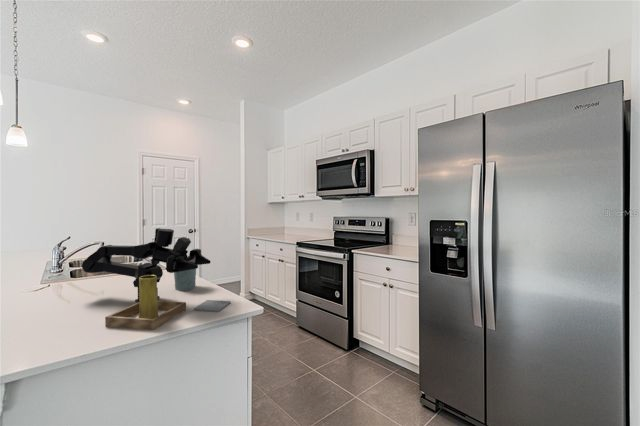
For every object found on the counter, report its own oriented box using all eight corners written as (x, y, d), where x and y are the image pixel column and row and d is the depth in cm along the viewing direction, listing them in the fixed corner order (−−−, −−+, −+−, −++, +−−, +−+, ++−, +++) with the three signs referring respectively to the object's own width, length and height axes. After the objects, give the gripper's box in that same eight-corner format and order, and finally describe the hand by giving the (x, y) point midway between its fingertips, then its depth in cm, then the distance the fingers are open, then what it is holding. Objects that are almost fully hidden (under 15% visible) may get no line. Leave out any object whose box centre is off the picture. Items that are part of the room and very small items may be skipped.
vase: (149, 322, 98) (148, 279, 98) (133, 320, 100) (133, 278, 99) (162, 315, 104) (162, 275, 104) (147, 313, 106) (147, 274, 105)
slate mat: (193, 310, 109) (193, 308, 109) (207, 301, 119) (207, 299, 119) (218, 311, 108) (218, 310, 108) (230, 302, 118) (230, 301, 118)
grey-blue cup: (181, 292, 131) (181, 265, 131) (168, 288, 136) (168, 262, 136) (201, 286, 140) (201, 261, 139) (188, 283, 145) (188, 259, 145)
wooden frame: (105, 326, 95) (105, 317, 95) (144, 307, 112) (144, 299, 112) (153, 329, 92) (153, 320, 92) (185, 310, 109) (185, 302, 109)
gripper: (155, 239, 109) (194, 248, 107) (185, 233, 128) (219, 241, 125) (150, 268, 110) (189, 278, 108) (181, 259, 128) (214, 267, 126)
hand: (204, 264), depth 117 cm, fingers open, 9 cm apart
